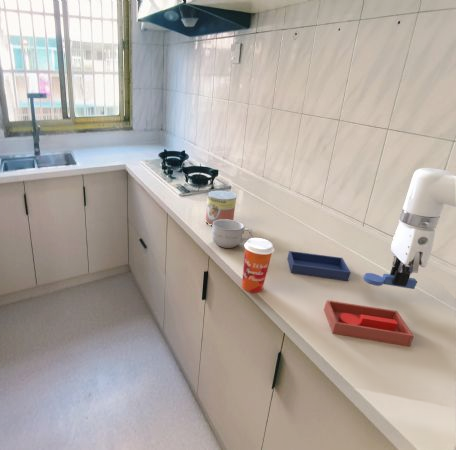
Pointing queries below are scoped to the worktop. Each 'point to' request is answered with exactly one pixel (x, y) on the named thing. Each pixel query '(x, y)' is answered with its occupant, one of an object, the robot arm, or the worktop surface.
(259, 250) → the paper cup
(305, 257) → the blue tray
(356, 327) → the red tray
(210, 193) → the canned food
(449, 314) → the worktop surface
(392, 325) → the red spoon
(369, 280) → the blue spoon
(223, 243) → the teacup
